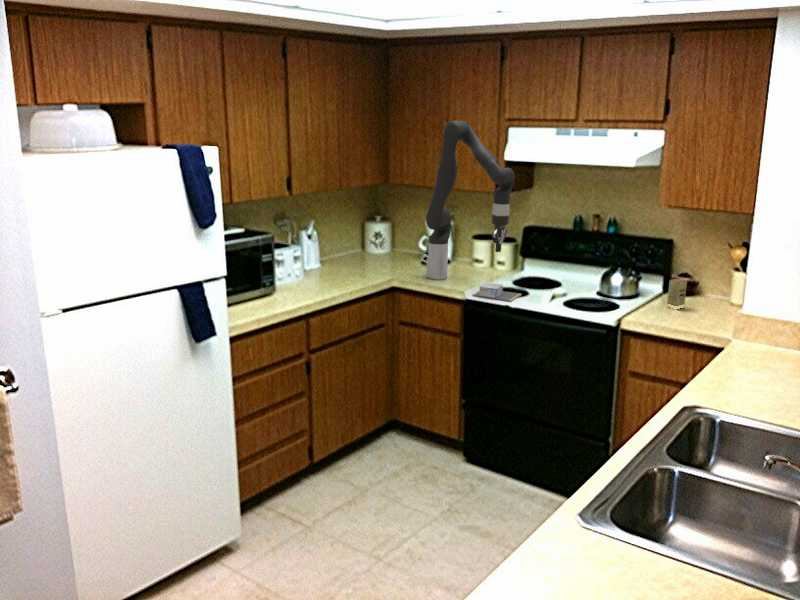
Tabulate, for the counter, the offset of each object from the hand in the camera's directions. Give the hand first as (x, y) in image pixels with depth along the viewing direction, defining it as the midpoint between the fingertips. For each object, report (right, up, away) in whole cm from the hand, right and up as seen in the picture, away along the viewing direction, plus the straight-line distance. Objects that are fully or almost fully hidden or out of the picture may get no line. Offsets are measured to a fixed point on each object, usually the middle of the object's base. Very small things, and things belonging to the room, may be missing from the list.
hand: (498, 251), depth 338 cm
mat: (-1, -20, -3) cm, 20 cm away
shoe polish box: (+73, -25, -18) cm, 79 cm away
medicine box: (-2, -16, -1) cm, 16 cm away
